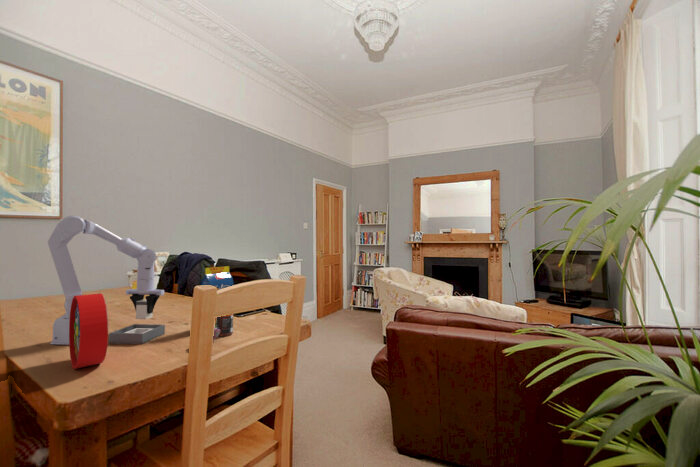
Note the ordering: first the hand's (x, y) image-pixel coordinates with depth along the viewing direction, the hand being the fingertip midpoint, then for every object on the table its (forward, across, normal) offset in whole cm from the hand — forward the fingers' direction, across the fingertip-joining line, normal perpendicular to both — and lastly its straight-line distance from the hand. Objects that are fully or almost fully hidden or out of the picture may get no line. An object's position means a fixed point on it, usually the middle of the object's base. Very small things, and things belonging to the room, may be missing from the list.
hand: (144, 313), depth 124 cm
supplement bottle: (+7, -34, +3) cm, 35 cm away
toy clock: (+7, -8, +34) cm, 36 cm away
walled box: (+7, -5, +10) cm, 13 cm away
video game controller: (+7, -33, +15) cm, 37 cm away
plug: (+2, 0, 0) cm, 2 cm away
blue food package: (+7, -26, -7) cm, 28 cm away
